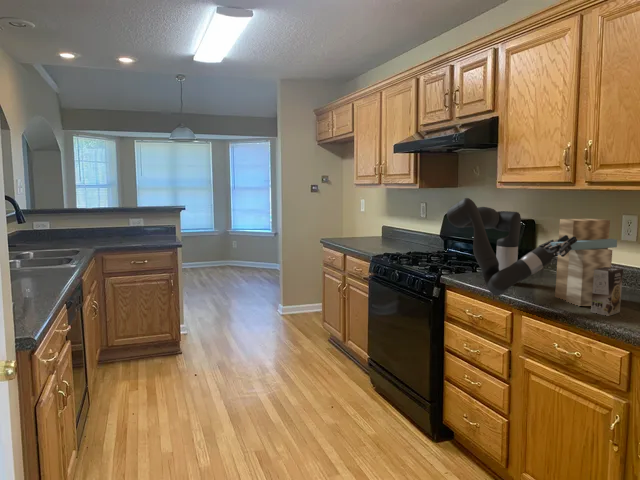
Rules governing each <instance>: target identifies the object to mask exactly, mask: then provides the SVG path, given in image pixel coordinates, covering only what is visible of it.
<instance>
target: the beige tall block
mask: <svg viewBox="0 0 640 480" xmlns="http://www.w3.org/2000/svg"><path fill="white" fill-rule="evenodd" d="M612 260H613V249H611V248H608V249H605V248H599V249H583V250H570V251H569V265H568V280H567V295H566V301H565V302H566V303H568V302H569V303H568V304H571V303H572V304H571V305H573V304H575V305H574V306H576V305H578V306H577V307H579V306H591V304H592V291H593V279H594V269H598V268H603V267H609V268H612Z"/></svg>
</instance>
